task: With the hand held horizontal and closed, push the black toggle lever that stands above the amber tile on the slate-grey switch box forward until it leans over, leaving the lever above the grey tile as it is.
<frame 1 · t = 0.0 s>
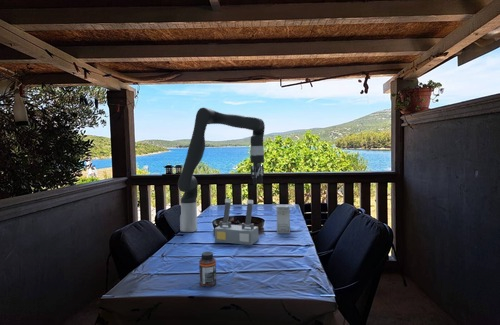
hand: (257, 183, 174), 29 cm above the table, tool pointing down, fingers open, 8 cm apart
switch box: (236, 240, 168), on the table
lever grey: (249, 213, 167), point 14 cm above the table, hinge at -20.0°
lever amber: (226, 212, 172), point 14 cm above the table, hinge at -20.0°
supplement bottle: (208, 284, 114), on the table
circuit breaker: (283, 230, 188), on the table
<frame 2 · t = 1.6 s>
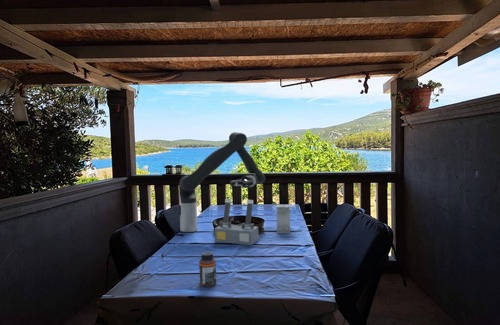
hand: (237, 184, 185), 28 cm above the table, tool horizontal, fingers open, 7 cm apart
nothing on the table moved.
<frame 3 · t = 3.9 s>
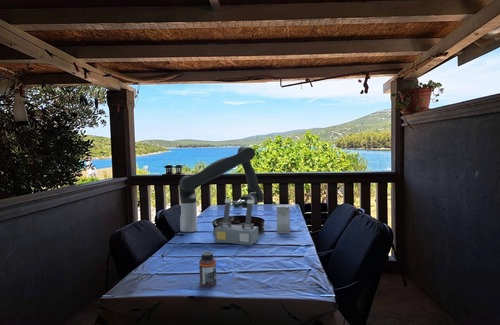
hand: (235, 205, 182), 16 cm above the table, tool horizontal, fingers closed
nothing on the table moved.
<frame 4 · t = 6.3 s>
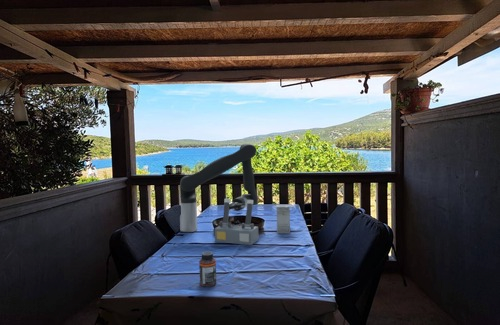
hand: (227, 208, 172), 16 cm above the table, tool horizontal, fingers closed
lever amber: (226, 212, 171), point 15 cm above the table, hinge at -13.9°, touching gripper
everything else where it was.
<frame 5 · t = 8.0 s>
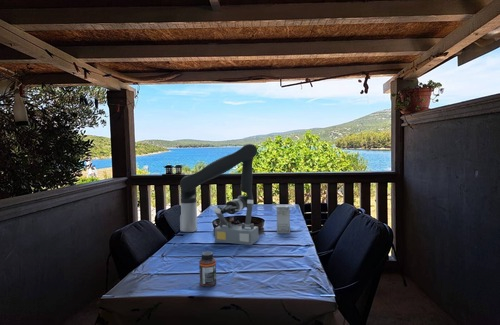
hand: (220, 212, 165), 16 cm above the table, tool horizontal, fingers closed
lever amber: (221, 217, 166), point 13 cm above the table, hinge at 45.2°, touching gripper
everything else where it was.
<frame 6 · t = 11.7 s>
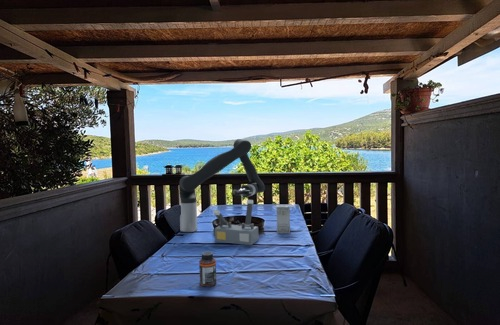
hand: (236, 193, 184), 23 cm above the table, tool horizontal, fingers closed
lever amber: (221, 218, 165), point 13 cm above the table, hinge at 50.0°
everything else where it was.
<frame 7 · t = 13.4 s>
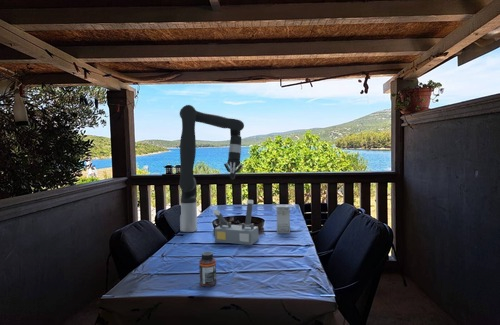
hand: (232, 179, 198), 30 cm above the table, tool pointing down, fingers closed
nothing on the table moved.
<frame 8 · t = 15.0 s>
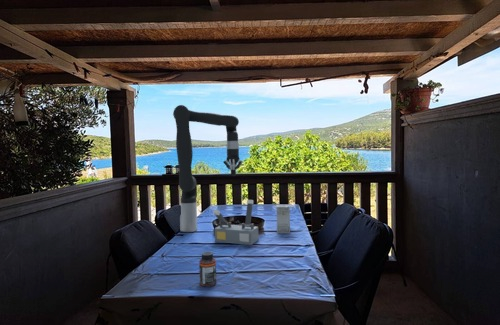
hand: (233, 175, 199), 32 cm above the table, tool pointing down, fingers closed
nothing on the table moved.
at the end: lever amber at +50° (first picture: -20°); lever grey at -20° (first picture: -20°) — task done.
